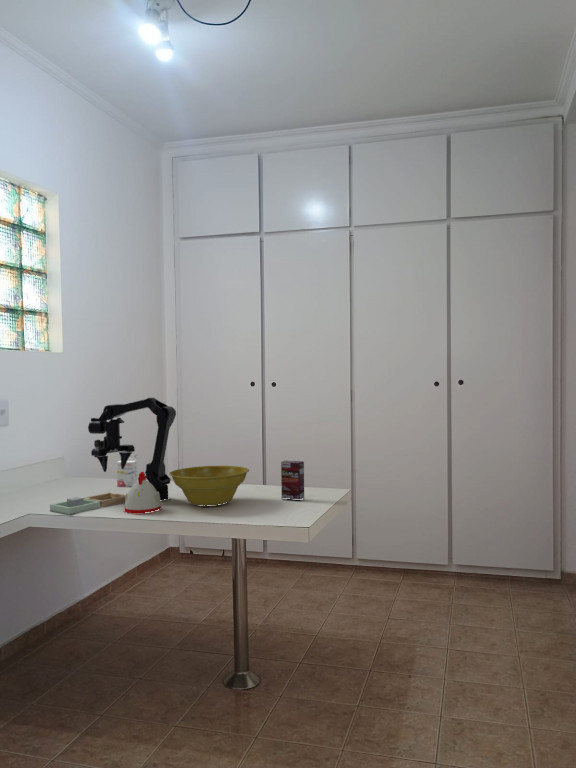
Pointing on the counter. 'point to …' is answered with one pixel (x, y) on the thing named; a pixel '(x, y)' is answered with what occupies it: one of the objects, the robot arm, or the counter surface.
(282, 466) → the supplement box
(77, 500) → the grey cube
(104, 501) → the oak tray
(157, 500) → the kitchen timer
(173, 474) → the planter bowl
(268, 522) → the counter surface
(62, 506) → the green bin
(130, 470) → the ink cartridge box
